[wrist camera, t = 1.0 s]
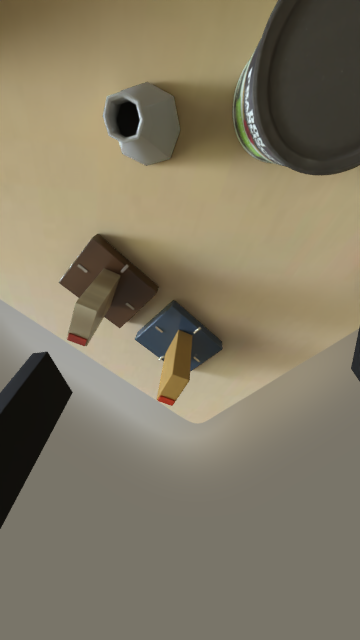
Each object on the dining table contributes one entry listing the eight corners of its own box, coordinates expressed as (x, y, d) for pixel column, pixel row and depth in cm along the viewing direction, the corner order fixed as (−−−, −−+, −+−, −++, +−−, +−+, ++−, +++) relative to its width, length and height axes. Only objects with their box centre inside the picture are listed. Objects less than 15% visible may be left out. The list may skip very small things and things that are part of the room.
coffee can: (255, 183, 30) (286, 206, 19) (214, 82, 26) (223, 29, 14) (350, 126, 27) (463, 109, 15) (323, -2, 22) (453, -166, 11)
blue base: (136, 333, 44) (133, 341, 42) (175, 298, 40) (173, 305, 38) (183, 369, 48) (182, 377, 46) (223, 340, 43) (224, 348, 42)
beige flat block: (104, 267, 36) (74, 303, 28) (120, 275, 36) (96, 312, 28) (94, 299, 39) (65, 340, 30) (110, 306, 39) (85, 348, 31)
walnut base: (63, 278, 39) (56, 284, 37) (99, 231, 35) (93, 236, 33) (121, 322, 43) (118, 330, 41) (160, 285, 39) (158, 291, 37)
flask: (183, 86, 26) (174, 57, 18) (177, 168, 30) (167, 177, 22) (112, 78, 26) (69, 46, 18) (115, 162, 30) (82, 167, 22)
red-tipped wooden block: (178, 329, 40) (171, 375, 32) (192, 335, 41) (189, 381, 33) (165, 353, 43) (156, 401, 35) (178, 358, 44) (172, 407, 35)
